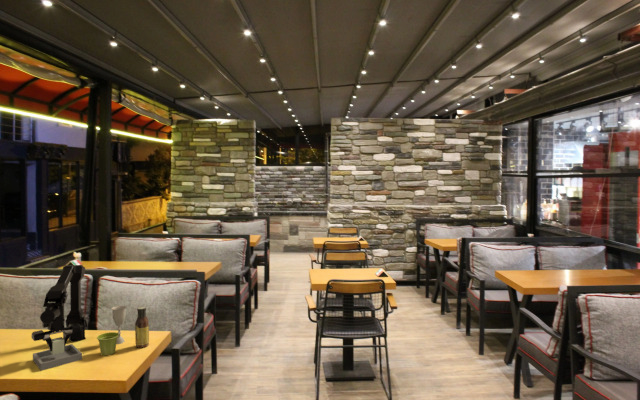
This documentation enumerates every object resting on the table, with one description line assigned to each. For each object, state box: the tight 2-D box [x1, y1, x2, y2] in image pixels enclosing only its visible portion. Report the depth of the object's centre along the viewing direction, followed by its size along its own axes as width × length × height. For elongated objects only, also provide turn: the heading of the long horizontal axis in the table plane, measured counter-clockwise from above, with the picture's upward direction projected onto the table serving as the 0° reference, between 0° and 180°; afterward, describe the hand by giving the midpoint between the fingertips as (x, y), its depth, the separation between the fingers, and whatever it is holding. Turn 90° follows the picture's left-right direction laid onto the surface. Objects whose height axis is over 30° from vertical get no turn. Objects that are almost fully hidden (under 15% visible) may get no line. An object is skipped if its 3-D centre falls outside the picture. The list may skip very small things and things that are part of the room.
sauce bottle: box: [134, 306, 150, 349], centre depth 200 cm, size 7×6×20 cm
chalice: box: [111, 305, 127, 345], centre depth 205 cm, size 7×7×18 cm
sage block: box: [50, 336, 64, 355], centre depth 184 cm, size 4×4×6 cm
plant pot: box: [96, 331, 119, 356], centre depth 191 cm, size 9×9×9 cm
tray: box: [32, 343, 83, 371], centre depth 184 cm, size 16×16×3 cm
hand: (57, 349), depth 184 cm, fingers closed on sage block, 4 cm apart
